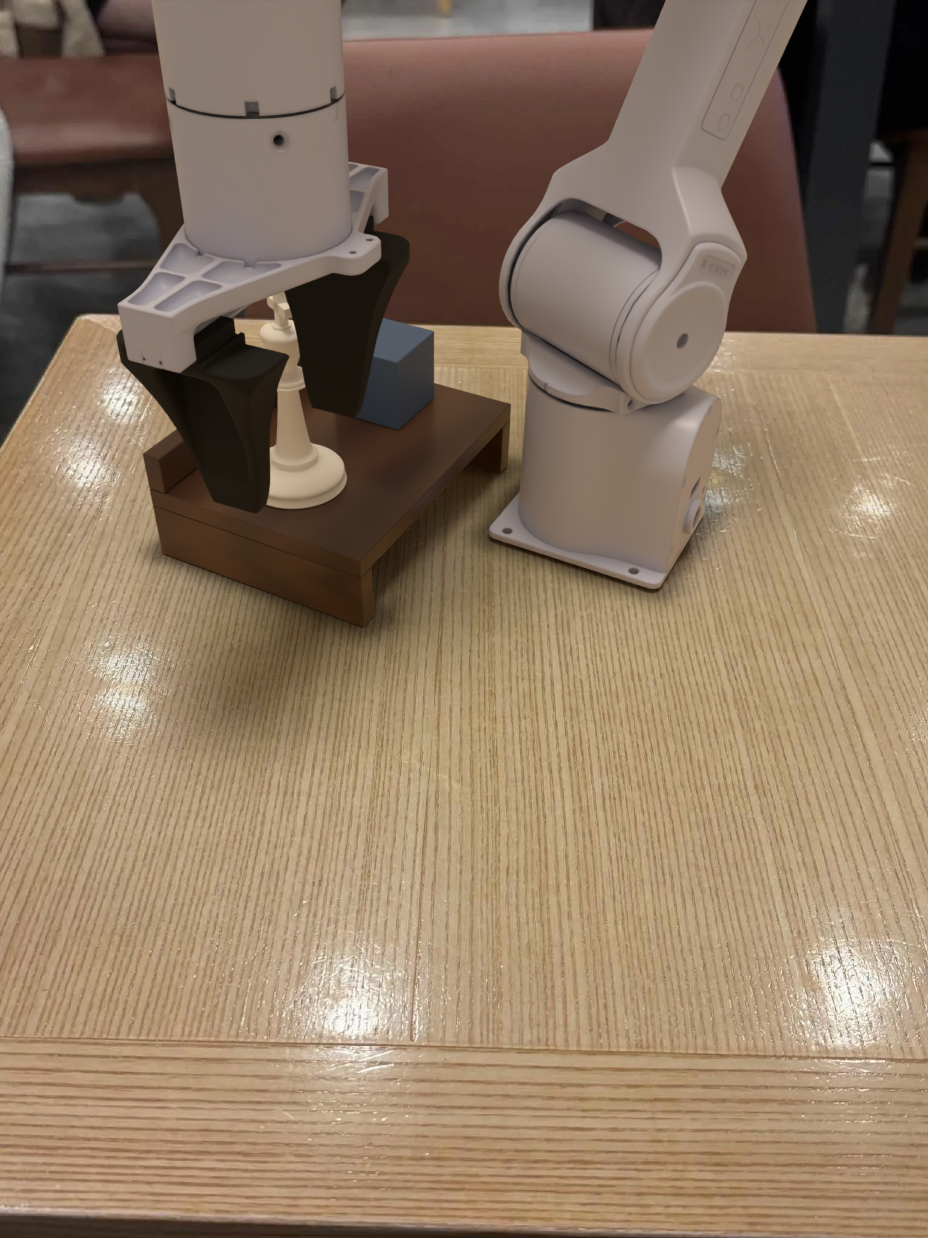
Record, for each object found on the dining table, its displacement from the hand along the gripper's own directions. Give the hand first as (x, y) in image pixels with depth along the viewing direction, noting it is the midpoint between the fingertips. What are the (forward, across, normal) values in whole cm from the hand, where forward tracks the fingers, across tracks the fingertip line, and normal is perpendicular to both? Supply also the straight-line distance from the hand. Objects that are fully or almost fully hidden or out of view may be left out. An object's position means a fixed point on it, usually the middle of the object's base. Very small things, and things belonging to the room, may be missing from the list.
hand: (290, 453), depth 44 cm
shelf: (+10, +10, +4) cm, 15 cm away
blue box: (+6, +15, +4) cm, 17 cm away
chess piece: (+7, +6, +4) cm, 10 cm away
